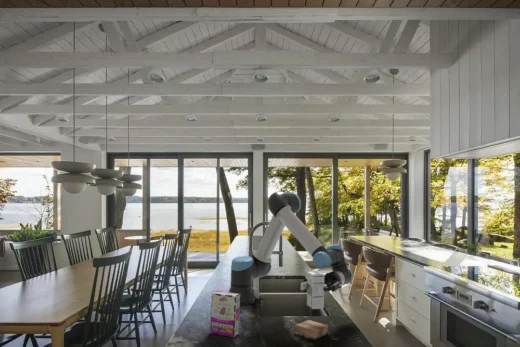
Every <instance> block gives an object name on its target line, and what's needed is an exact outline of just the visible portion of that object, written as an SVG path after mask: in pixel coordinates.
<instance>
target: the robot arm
mask: <svg viewBox="0 0 520 347" xmlns="http://www.w3.org/2000/svg"><path fill="white" fill-rule="evenodd" d="M267 207H268V210H269V212H270V213H271V215H272V217H271V219H270V221H269V223H268V224H267V225H268V226H267V228H266V230H265V232H264V234H263V236H262V238H261V241H260V243H259V245H258V247H257V249H255V250H253V251H252V254H251V256H249V255H248V256H247V255H244V256H240V255H239V256H237V257H234V258H233V259H232V260H231V265H230V287H229V290H228V292H229V293H237V294H240V306H249V305H253V304H254V303H255V294H254V290H253V280H255V279H260V278H264V277H267V276H268V275H269V274H270V273H271V270H272V257H271V256H272V254H273V252H274V250H275V248H276V246H277V244H278V242H279V240H280V237H281V236H282V234H283V232H284V229H285V227H286V229H287V230H288V231H289V232H290V233H291V234H292V235H293V237H294V238H295V239H296V240H297V241H298V243H299V244H300V245H301V246H302V247H303V248H304V250H306V251H307V252H308V254H309V255H310V257H312V262H313V265H314V266H315V267H316V268H318V269H327V268H330V267H331V270H332V271H329V272H327V273H325V274H324V285H322V286H320V287H318V294H321V293H323V292H324V293H325V292H330V291H331V292H332V293H334V292H336V291H338V290H339V289H342V287H343V286H345V285H348V284H349V283H350V282H352V281H353V279H354V274H353V271H352V270H351V268H349V267H348V265H347V262H346V261H347V260H346V257H345V254H344V250H343V248H342V246H341V244H340V243H337V244H332V245H328V246H326V247H325V246H324V245H323V244H322V242H320V240H319V239H318V238H317V237H316V236H315V235H314V234H313V233H312V231H311V230H309V228H308V227H307V226H306V225H305V224H304V223H303V221H302V220H301V219H299V217H298V216H297V215H296V213H298V212H299V211H300V210H301V208H302V200H301V198H300V196H299V195H298V194H297V193H294V192H292V191H275V192H273V193H271V194H270V195H269V197H268V200H267ZM300 290H301V291H304V290H307V278H304V279H303V282H300Z"/></svg>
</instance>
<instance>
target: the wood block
mask: <svg viewBox="0 0 520 347" xmlns="http://www.w3.org/2000/svg"><path fill="white" fill-rule="evenodd" d="M295 331H296V332H298V333H301V334H304V335H308V336H310V337H313V338H316V337H318V336H320V335H322V334H325V333H327V332H328V333H329V325H326V324H324V323H320V322H318V321H313V320H311V319H308V320H305V321H302V322H300V323H299V322H298V323H297V324H294V332H295Z"/></svg>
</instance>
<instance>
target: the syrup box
mask: <svg viewBox="0 0 520 347" xmlns="http://www.w3.org/2000/svg"><path fill="white" fill-rule="evenodd" d="M306 272H307V275H306V276H307V278H306V279H307V289H306V306H307V307H309V308H310V309H311V310H320V309H322V310H323V309H324V308H325V306H324V304H325V292H323V293H321V294H318V287H320V286H322V285H324V275H325V274H324V273H322V272H321V271H317V270H316V271H315V270H313V271H306Z"/></svg>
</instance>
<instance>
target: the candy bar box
mask: <svg viewBox="0 0 520 347" xmlns="http://www.w3.org/2000/svg"><path fill="white" fill-rule="evenodd" d="M240 306H241V305H240V294H237V293H229V291H223V290H222V291H221V290H216V291H214V292H212V293H211V310H210V326H209V327H210V328H209V329H210V331H209V332H210V334H213V335H217V336H218V335H219V336H224V337H228V338H235V337H236V336H238V335H239V332H240V312H241V309H240V308H241V307H240Z"/></svg>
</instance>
